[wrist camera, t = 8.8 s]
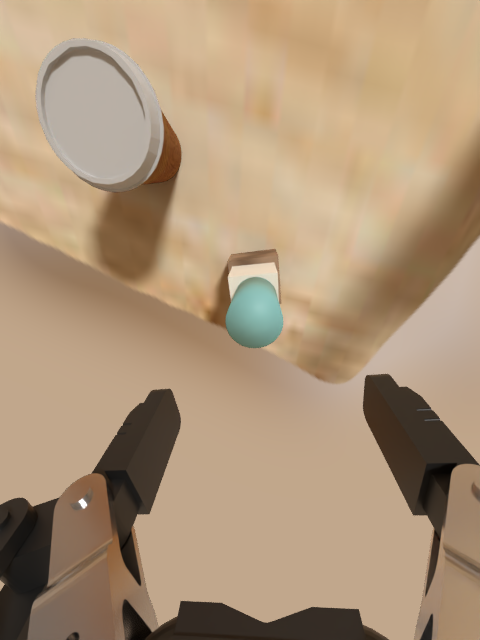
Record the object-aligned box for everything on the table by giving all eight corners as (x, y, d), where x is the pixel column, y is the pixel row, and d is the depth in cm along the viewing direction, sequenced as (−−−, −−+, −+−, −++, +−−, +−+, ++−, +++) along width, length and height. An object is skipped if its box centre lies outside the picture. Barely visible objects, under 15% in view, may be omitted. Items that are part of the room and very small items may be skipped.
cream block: (274, 262, 29) (277, 272, 24) (276, 302, 31) (279, 318, 26) (232, 266, 29) (227, 277, 25) (237, 305, 31) (233, 321, 27)
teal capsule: (272, 272, 24) (277, 288, 18) (280, 313, 25) (287, 342, 19) (229, 282, 25) (218, 301, 18) (240, 321, 26) (233, 352, 20)
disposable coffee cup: (163, 213, 32) (113, 217, 21) (100, 152, 29) (8, 120, 18) (211, 151, 28) (183, 116, 18) (146, 76, 26) (66, -18, 15)
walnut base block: (275, 248, 33) (278, 255, 28) (278, 291, 35) (281, 303, 31) (231, 254, 33) (227, 261, 29) (237, 295, 36) (234, 308, 31)
